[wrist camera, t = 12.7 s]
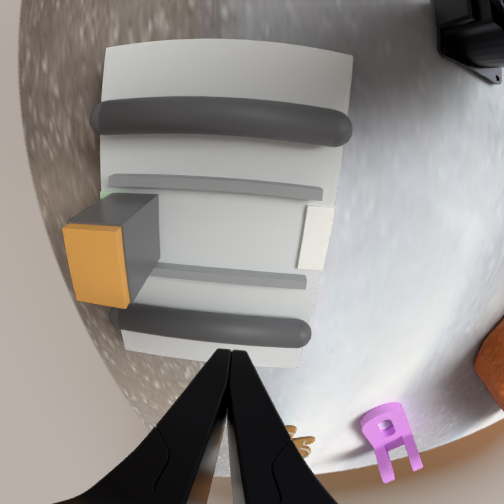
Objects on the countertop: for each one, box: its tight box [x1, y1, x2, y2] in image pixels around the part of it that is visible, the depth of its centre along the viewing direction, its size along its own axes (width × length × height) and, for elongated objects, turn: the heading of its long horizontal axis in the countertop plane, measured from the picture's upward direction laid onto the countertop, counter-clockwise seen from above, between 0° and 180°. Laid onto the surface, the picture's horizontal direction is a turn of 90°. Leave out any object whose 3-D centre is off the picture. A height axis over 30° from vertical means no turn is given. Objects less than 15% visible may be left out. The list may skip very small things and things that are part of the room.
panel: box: [90, 39, 353, 368], centre depth 17 cm, size 14×22×4 cm, turn 175°
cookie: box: [285, 425, 315, 459], centre depth 31 cm, size 8×1×10 cm
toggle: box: [62, 193, 160, 309], centre depth 14 cm, size 3×4×6 cm
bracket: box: [360, 403, 423, 483], centre depth 27 cm, size 13×6×7 cm, turn 31°
